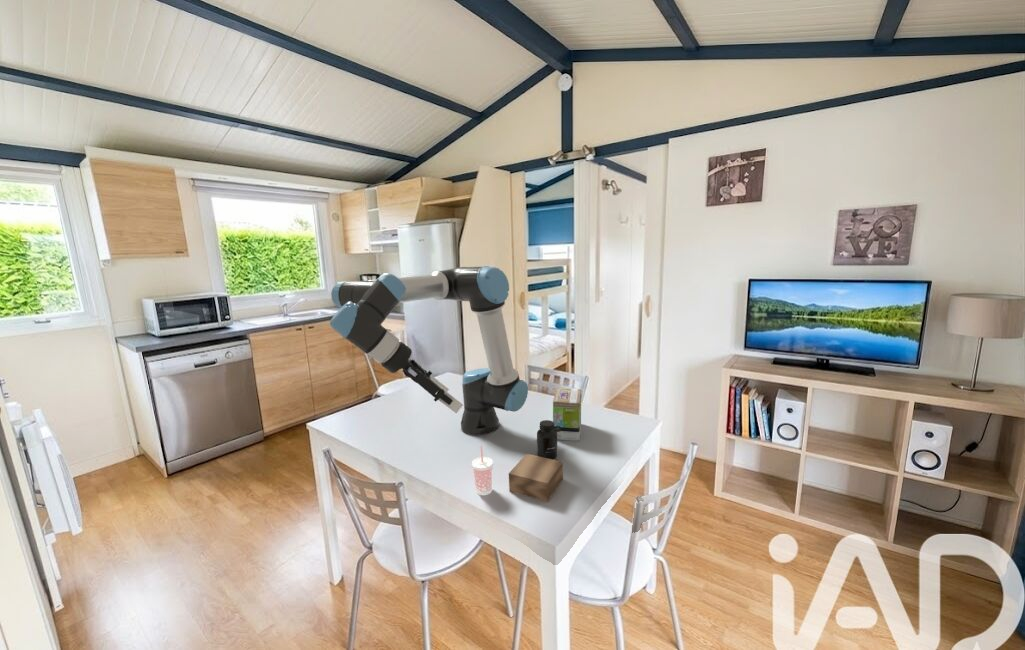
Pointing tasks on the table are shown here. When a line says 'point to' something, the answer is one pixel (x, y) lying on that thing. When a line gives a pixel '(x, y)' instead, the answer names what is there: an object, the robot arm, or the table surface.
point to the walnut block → (536, 477)
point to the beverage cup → (483, 474)
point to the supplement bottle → (547, 440)
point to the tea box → (567, 413)
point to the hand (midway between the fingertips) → (452, 400)
